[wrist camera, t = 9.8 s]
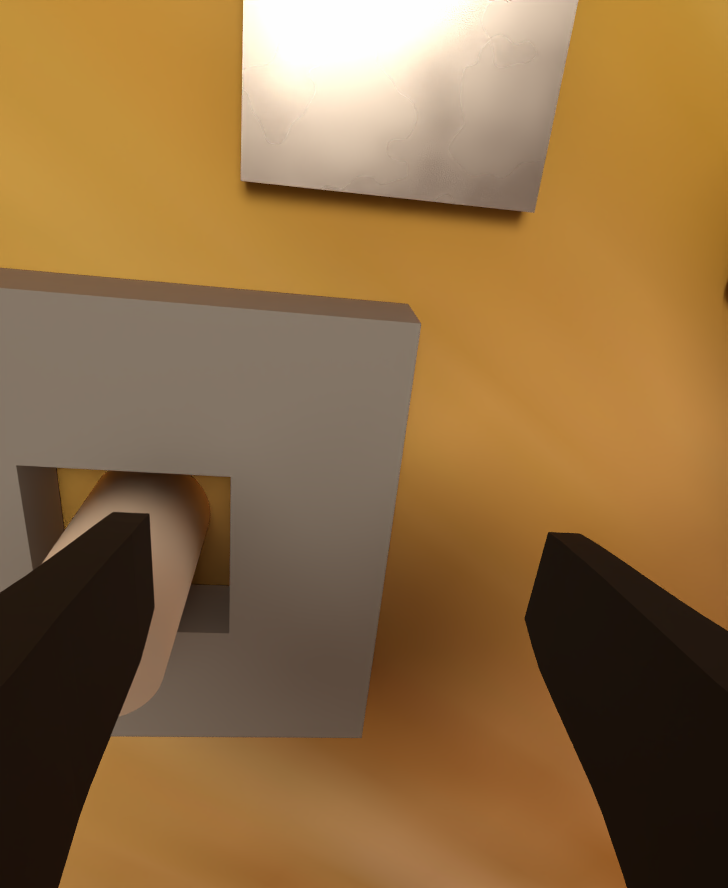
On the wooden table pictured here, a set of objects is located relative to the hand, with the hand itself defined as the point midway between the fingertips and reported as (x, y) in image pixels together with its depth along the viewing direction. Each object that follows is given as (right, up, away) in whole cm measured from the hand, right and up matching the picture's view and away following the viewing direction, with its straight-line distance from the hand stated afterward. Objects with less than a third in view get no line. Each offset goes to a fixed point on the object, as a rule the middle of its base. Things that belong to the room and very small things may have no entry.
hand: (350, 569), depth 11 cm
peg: (-7, 0, +10) cm, 12 cm away
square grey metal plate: (+1, +13, +4) cm, 14 cm away
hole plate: (-7, 0, +10) cm, 12 cm away
